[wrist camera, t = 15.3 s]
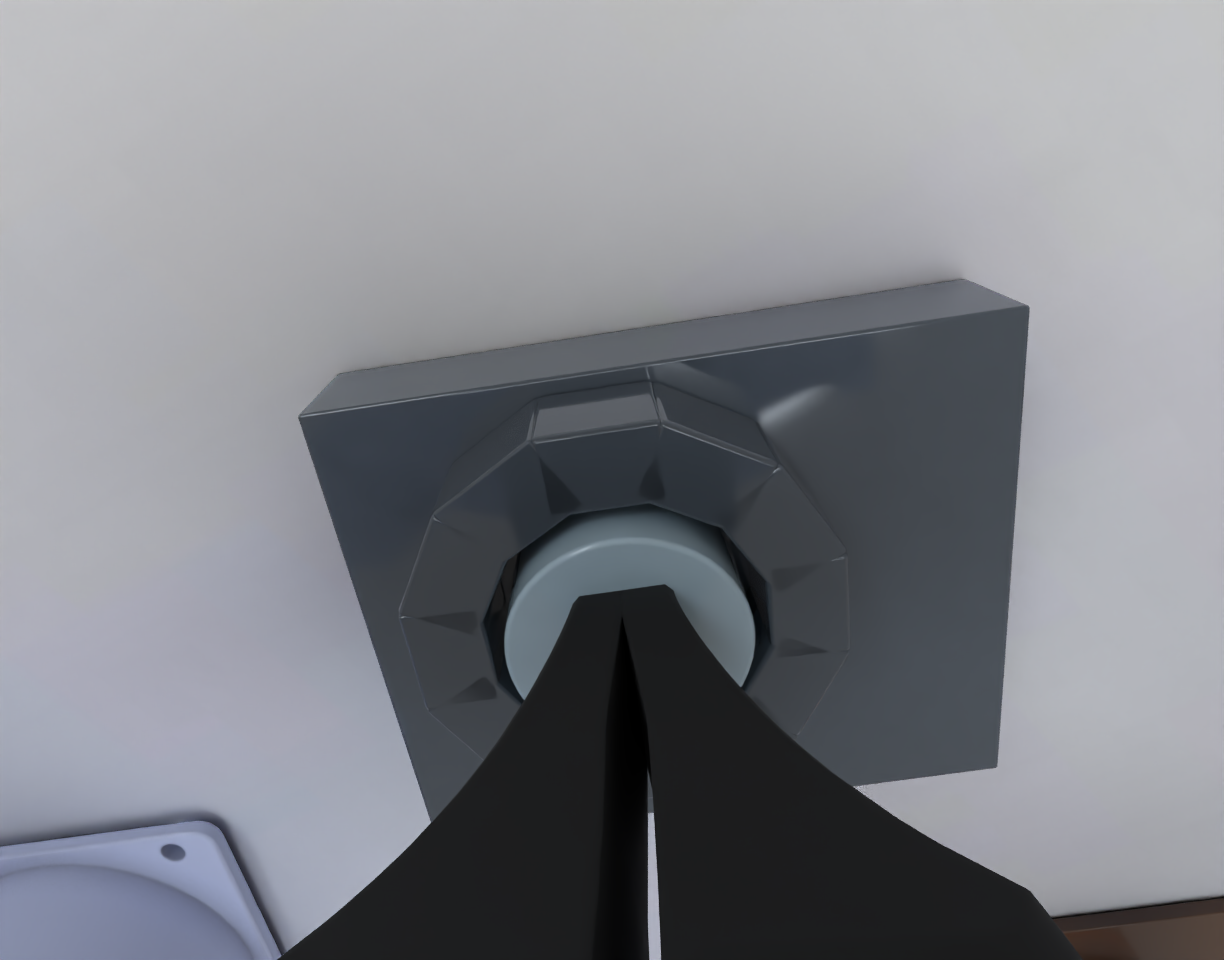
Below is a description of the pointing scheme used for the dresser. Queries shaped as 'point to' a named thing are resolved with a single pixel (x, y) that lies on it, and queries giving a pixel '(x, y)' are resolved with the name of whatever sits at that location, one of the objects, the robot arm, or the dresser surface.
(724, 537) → the light blue short cylinder
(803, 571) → the grey base plate
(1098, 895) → the dresser surface
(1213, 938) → the coaster
